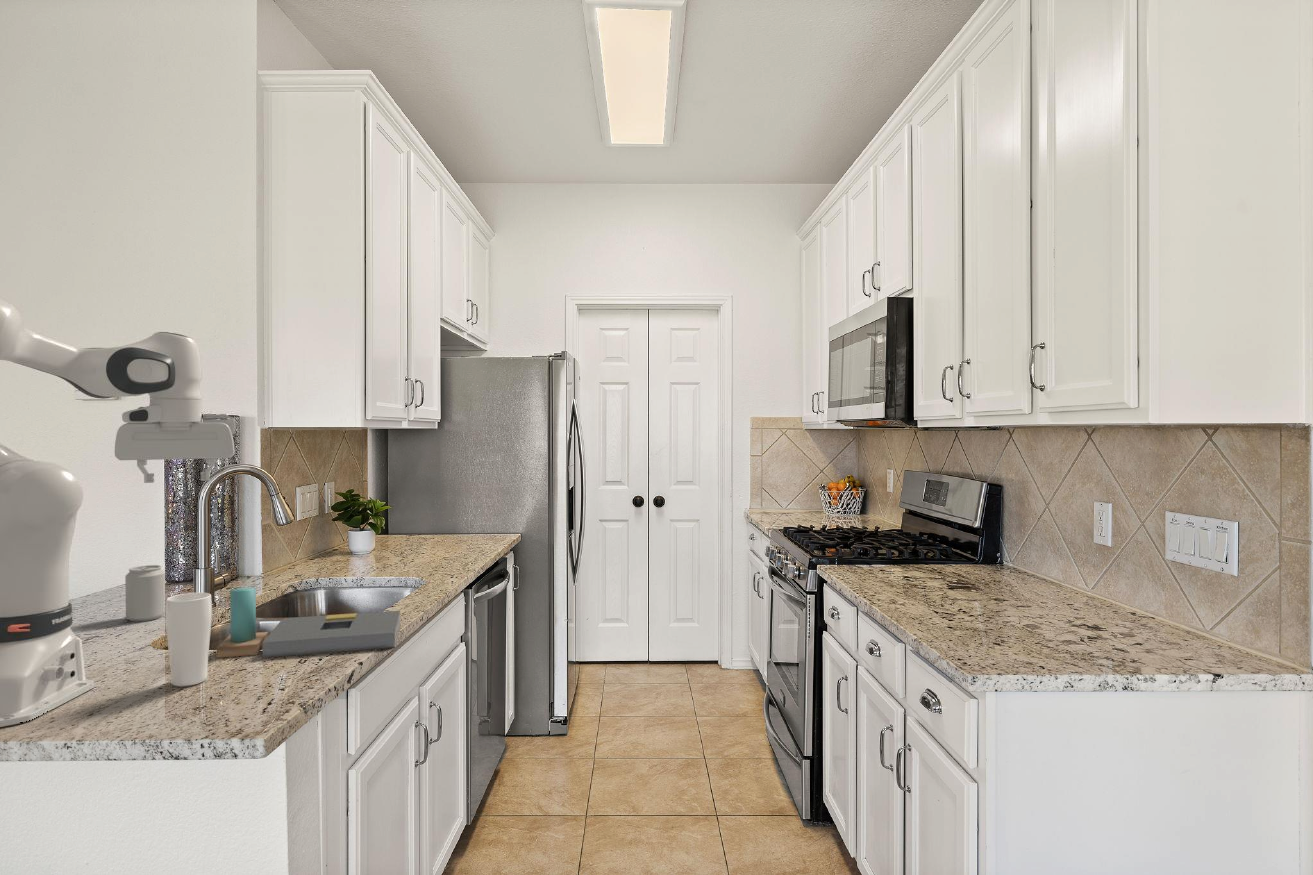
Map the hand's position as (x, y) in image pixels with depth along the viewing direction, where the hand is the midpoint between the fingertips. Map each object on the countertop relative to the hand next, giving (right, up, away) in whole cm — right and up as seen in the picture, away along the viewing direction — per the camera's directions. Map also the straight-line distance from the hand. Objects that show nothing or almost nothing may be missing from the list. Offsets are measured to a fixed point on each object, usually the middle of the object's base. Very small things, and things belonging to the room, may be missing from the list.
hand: (177, 481), depth 145 cm
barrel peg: (+15, -32, -3) cm, 35 cm away
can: (-21, -33, +20) cm, 44 cm away
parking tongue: (+15, -34, -3) cm, 37 cm away
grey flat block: (+31, -33, +4) cm, 45 cm away
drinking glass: (+16, -34, -21) cm, 43 cm away
